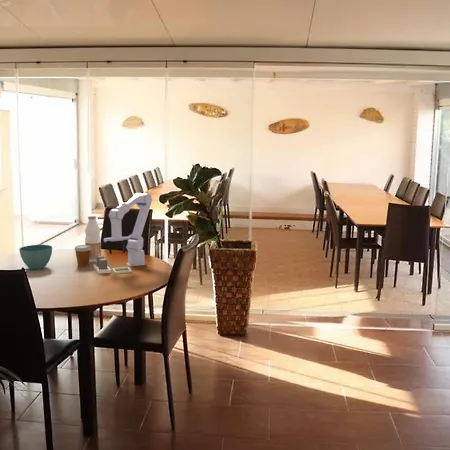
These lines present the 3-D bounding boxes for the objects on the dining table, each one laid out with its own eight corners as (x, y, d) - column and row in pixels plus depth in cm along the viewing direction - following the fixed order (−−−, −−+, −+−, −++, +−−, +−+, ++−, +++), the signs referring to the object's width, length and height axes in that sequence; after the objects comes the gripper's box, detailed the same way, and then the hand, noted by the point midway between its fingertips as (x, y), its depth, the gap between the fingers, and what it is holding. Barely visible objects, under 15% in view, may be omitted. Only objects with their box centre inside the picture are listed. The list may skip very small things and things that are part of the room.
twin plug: (103, 267, 331) (103, 255, 330) (104, 268, 328) (104, 256, 327) (96, 268, 330) (96, 256, 329) (97, 269, 326) (97, 257, 325)
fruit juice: (90, 263, 343) (88, 218, 339) (83, 260, 350) (81, 216, 346) (104, 261, 349) (102, 216, 345) (97, 258, 356) (95, 214, 352)
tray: (128, 269, 329) (127, 266, 328) (131, 273, 320) (131, 270, 320) (112, 270, 325) (112, 268, 325) (115, 274, 317) (115, 271, 317)
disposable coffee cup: (87, 268, 331) (86, 248, 329) (72, 267, 333) (71, 247, 331) (94, 264, 340) (93, 245, 339) (79, 264, 342) (78, 244, 340)
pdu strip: (105, 267, 334) (105, 263, 334) (110, 273, 319) (110, 269, 319) (93, 268, 331) (93, 264, 331) (98, 274, 317) (98, 270, 316)
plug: (106, 270, 324) (105, 258, 323) (107, 272, 320) (107, 259, 319) (99, 271, 322) (98, 258, 321) (100, 272, 319) (100, 260, 318)
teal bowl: (43, 272, 321) (42, 251, 319) (14, 271, 324) (12, 250, 322) (58, 265, 338) (57, 245, 336) (31, 264, 342) (29, 244, 340)
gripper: (105, 232, 318) (106, 255, 320) (130, 230, 323) (131, 253, 325) (102, 230, 324) (103, 253, 326) (127, 228, 330) (128, 251, 332)
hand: (117, 253), depth 326 cm, fingers open, 7 cm apart
